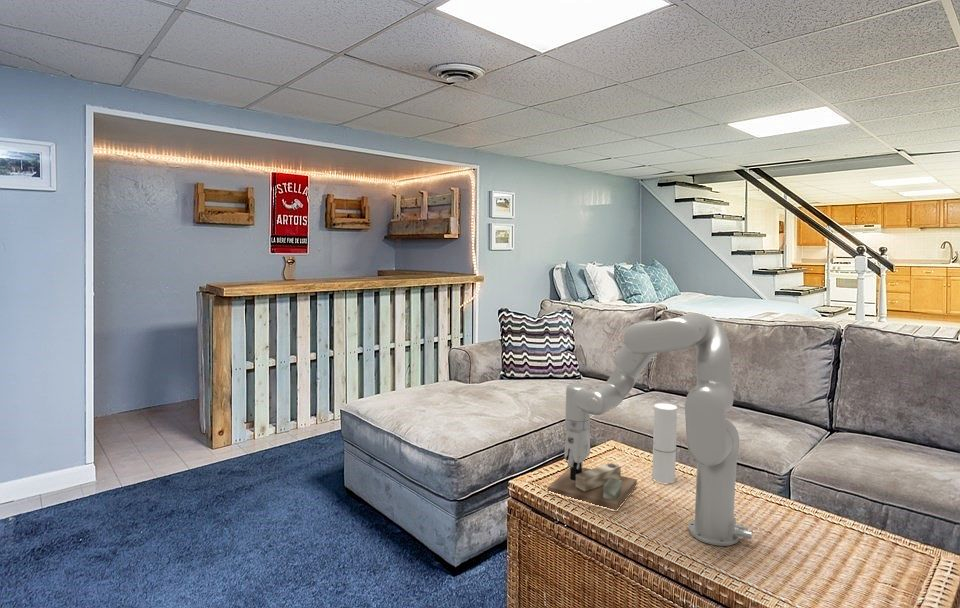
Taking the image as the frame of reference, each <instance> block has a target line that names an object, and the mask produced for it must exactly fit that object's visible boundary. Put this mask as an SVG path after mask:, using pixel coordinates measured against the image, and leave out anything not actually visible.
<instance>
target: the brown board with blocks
mask: <svg viewBox="0 0 960 608" xmlns="http://www.w3.org/2000/svg"><path fill="white" fill-rule="evenodd" d="M580 468H582V472H585V471H588V470H591V469H592V468H587V467H583V466H582V467H580ZM637 482H638V480H637V479H635V478H633V477H627V476H623V475H621V479H614V478H610V479H609V480H608V481H607V482H606V483H605V484H604V485H602V486H599V487H596V488H593V489H591V490H588V491H583V490H581V489H579V488H577V487H576V481H574V480H571V479H570V467H569V468H568V469H566V471H565V472H563V473H562V474H561V475H560V476H558V477H557V478H556V479H555V480H553V482H551V483H550V484H549V485H548V486H547V492H548V491H551V492H554V493H558V494H561V495H564V496H567V497H571V498H574V499H578V500H582V501H586V502H589V503H592V504H595V505H599V506H603V507H607V508H610V509H614V510H617V509H618V508H619V507H620V505H621V504H622V503H623V502H624V501H625V499H626V498H627V497H628V495H629V494H630V493H631V492H632V490H633V489H634V488H635V486H636V485H637V484H638V483H637ZM637 486H638V485H637ZM635 489H636V488H635ZM632 493H633V492H632ZM632 493H631V494H632ZM628 498H629V497H628ZM628 498H627V499H628ZM625 502H626V501H625ZM625 502H624V503H625ZM620 508H621V507H620Z"/></svg>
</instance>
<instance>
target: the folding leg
mask: <svg viewBox="0 0 960 608" xmlns="http://www.w3.org/2000/svg"><path fill="white" fill-rule="evenodd" d="M621 468H622V467H621V466H620V465H617V464H616V463H613V462H609V463H607V464H603V465H600V466H598V467H594V468H590V469H591V470H588V471H585V472H582V473H579V474H576V487H577V488H579V489H581V490H583V491H588V490H591V489H593V488H596V487H599V486H602V485H604V484H605V483H606V482H607V481H608V480H609V479H610V478H614V479H621V476H622V474H621V472H622V469H621Z"/></svg>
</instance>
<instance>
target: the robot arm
mask: <svg viewBox="0 0 960 608" xmlns="http://www.w3.org/2000/svg"><path fill="white" fill-rule="evenodd" d="M729 342H730V341H729V338H728V336H727V333H726V331H725V329H724V328H723V326H722V325H721V324H720V323H719V322H717V320H715V319H713V318H712V317H710V316H708V315H706V314H702V313H695V312H694V313H693V312H692V313H687V314H683V315H681V316H677V317H673V318H667V319H662V320H661V319H660V320H651V319H647V320H643V321H642V320H641V321H639V322H636V323H633V324H631V325H630V326H628V328H627V329H626V330H625V331H624V335H623V343H624V344H623V345H622V346H621V348H620V349H619V350H618V352H617V353H616V355H615V356H614V357H613V358H614V359H613V362H614V365H615V369H613V372H612V373H611V375H610V376H609V378H608V379H607V380H606V382H605V383H604V384H603V385H601V386H599V387H596V388H592V389H591V387H590V386H589V385H588V384H585V383H581V382H580V383H579V382H578V383H577V382H574V383H569V384H568V385H567V386H566V390H565V417H564V418H565V421H564V427H565V429H566V432H565V439H564V440H565V442H564V459H565V461H566V462H567V467H569V468H570V479H571V480H574V481H576V474H579V473H582V468H580V467H583V465H584V461H585V460H586V459H587V458H588V457H589V456H590V455H591V434H590V432H591V431H590V429H591V427H590V425H591V423H590V420H591V415H593V416H602V415H604V414H606V413H607V412H610V411H611V410H613V409H616V408H617V407H618V406H619V405H621V403H622V402H623V401H624V400H625V399H626V397H627V396H628V395H629V394H630V392H631V391H632V389H633V388H634V386H635V384H636V382H637V380H638V379H639V377H640V374H641V373H642V372H643V371H644V369H645V368H646V366H647V365H648V364H649V363H650V362H651V360H652V359H653V357H655V355H656V354H662V353H671V352H679V351H685V350H688V349H691V348H693V347H695V349H696V355H695V369H696V371H695V372H696V384H695V386H694V387H692V388H691V389H690V391H688V394H686V398H685V403H684V418H685V433H686V434H685V435H686V446H687V450H688V452H689V454H690V455H691V458H693V460H694V461H695V462H696V463H697V464H696V475H695V476H696V478H695V481H696V482H695V502H694V504H695V505H694V506H695V507H694V509H695V511H694V519H693V520H691V521H690V522H689V523H688V527H687V528H688V532H689V534H690V535H691V536H692V537H694V538H695V539H696V540H698V541H700V542H702V543H705V544H709V545H713V546H718V547H720V546H721V547H727V546H733V545H734V544H737V543H738V542H739V541H740V537H742V538H745V539H749V540H752V535H753V532H752V531H751V530H749V527H748V526H744V525H739V523H737V518H736V517H735V516H734V515H735V492H736V477H737V463H738V456H739V449H740V436H739V435H740V434H739V431H738V430H737V428H736V426H735V425H734V424H733V422H731V421H729V420H728V419H726V414H727V412H729V410H731V408H732V407H733V404H734V390H733V389H734V387H733V375H732V374H733V373H732V364H731V362H732V361H731V350H730V349H731V348H730V347H731V346H730V343H729Z"/></svg>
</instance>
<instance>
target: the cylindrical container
mask: <svg viewBox="0 0 960 608" xmlns="http://www.w3.org/2000/svg"><path fill="white" fill-rule="evenodd" d="M677 427H678V406H677V405H675V404H671V403H664V402H663V403H662V402H661V403H660V402H659V403H655V404H654V406H653V433H652V434H653V435H652V436H653V440H652V441H653V442H652V468H651V469H652V473H651V477H653V479H655V480H656V481H659V482H662V483H672V482H674V481H676V456H677V455H676V454H677ZM653 479H652V480H653ZM674 483H675V482H674Z"/></svg>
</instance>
